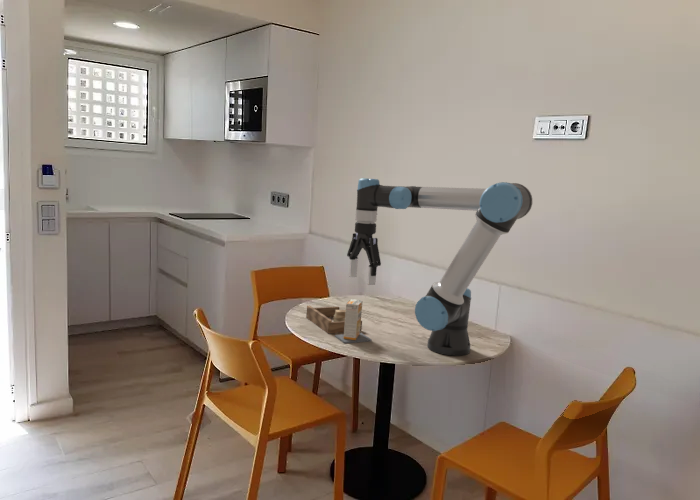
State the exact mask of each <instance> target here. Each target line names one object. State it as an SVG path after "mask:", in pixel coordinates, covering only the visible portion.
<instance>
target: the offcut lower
mask: <svg viewBox="0 0 700 500" xmlns="http://www.w3.org/2000/svg"><path fill="white" fill-rule="evenodd" d="M339 321H345V318H336V317H335V315H334V317H333V320H332V322H339Z"/></svg>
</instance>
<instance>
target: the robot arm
mask: <svg viewBox="0 0 700 500" xmlns="http://www.w3.org/2000/svg"><path fill="white" fill-rule="evenodd" d="M356 192H357V193H356V194H357V195H356V210H355V224H354V233H352V237H351V242H350V245H349V248H348V250H347V253H346V256H347V257H348V258H349V273H348V276H349V277H348V278H357V275H358V273H357V272H358V262H359V261H358V260H359V257H358V256H359V254H360V252H361V251H362V249H363V250H364V251H365V254H366V256H367V259H368V262H369V265H368V272H367V273H368V274H367V285H368V286H376V278H377V271H378V270H377V268H378V267H379V266H381V264H382V262H381V255H380V252H379V251H380V250H379V246H378V241H379V240H378V239H379V238H377V237H373V235H375V234H376V233H377V223H376V222H377V220H378V219H377V215H378V207H379V208H380V207H382V208H388V209H395V210H406V209H408V208H416V209H417V208H418V209H419V208H420V209H421V208H422V209H438V210H456V211H457V210H458V211H473V212H474V211H475V213H474V215H475V216H474V217H475V218H476V221H475V222H474V225H473V227H472V228H471V230H470V231H469V233H468V235H467V236H466V237H465V239H464V241H463V243H462V244H461V246H460V247H459V249H458V250H457V252H456V254H455V256H454V257H453V259H452V261H451V263H450V264H449V265H448V267H447V269H446V271H445V273H444V274H443V275H442V277H441V279H440V281H436V282H434V283H432V285H431V287H430V288H429V290H428V291H427V293H426V295H425V296H422V297H421V298H419V300H418V301H417V302H416V304H415V307H414V314H415V318H416V320H417V322H418V324H419V325H420V326H421V327H422V328H424V329H426V330H427V331H430V332H431V333H430V335H429V338H428V339H427V345H426V346H427V348H428V349H429V350H430V351H432V352H434V353H437V354H442V355H444V356H445V355H446V356H447V355H448V356H456V357H457V356H466V355H468V354H470V353H471V342H470V337H469V332H468V331H469V330H468V326H469V325H468V324H469V318H470V308H471V301H472V290H471V289H470V288H469V286H470V284H471V283H472V281H473V280H474V278H476V277H475V276H476V275H477V274H478V272H479V270H480V268H482V266H483V264H484V262H485V261H486V259H487V257H488V256H489V254H490V253H491V251H492V250H493V248H494V246H495V245H496V243H497V242H498V240H499V239H500V237H501V236H502V235H506V234H508V233H509V232H510V231H511V229H512V228H513V226H514V224H515V223H516V221H517V220H520V219H522V218H524V217H525V216H527V215H528V213H529V212H530V211H531V209H532V206H533V195H532V193H531V191H530V190H529V189H528V187H526V186H525V185H523V184H520V183H516V182H515V183H514V182H512V183H511V182H507V181H505V182H503V181H501V182H500V181H499V182H497V183H493V184H491V185H489V186H488V187H487V188H480V187H479V188H477V187H476V188H474V187H442V186H441V187H440V186H416V185H411V186H409V185H407V186H399V185H398V186H397V185H396V186H395V185H382V184H380V180H379V179H378V178H377V179H376V178H365V177H362V178H359V179H358V183H357V189H356Z"/></svg>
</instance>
